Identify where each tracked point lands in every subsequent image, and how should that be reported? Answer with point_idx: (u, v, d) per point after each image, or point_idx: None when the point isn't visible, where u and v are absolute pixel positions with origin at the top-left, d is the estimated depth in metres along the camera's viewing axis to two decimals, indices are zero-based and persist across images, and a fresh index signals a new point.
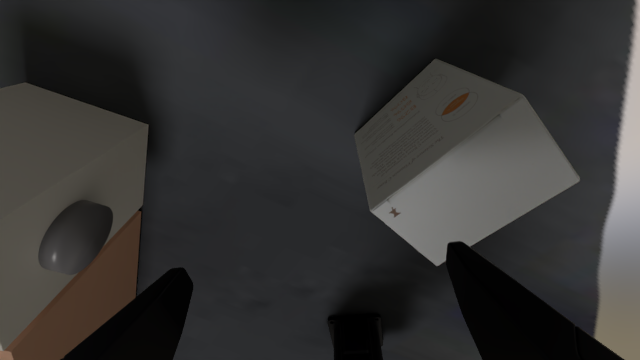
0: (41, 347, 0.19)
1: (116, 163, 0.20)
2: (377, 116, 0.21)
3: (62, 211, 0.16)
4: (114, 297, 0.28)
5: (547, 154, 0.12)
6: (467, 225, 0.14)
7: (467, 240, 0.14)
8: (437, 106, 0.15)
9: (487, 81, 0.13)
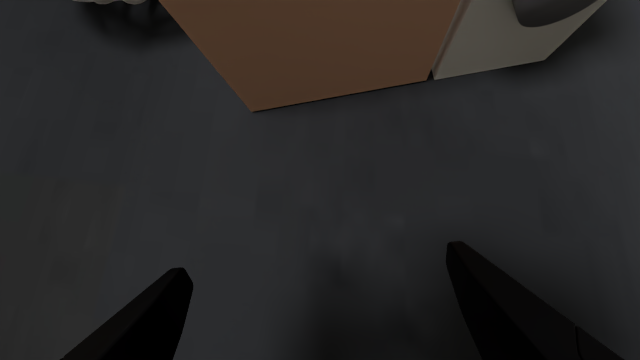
0: None
1: (558, 27, 0.19)
2: None
3: None
4: (324, 70, 0.20)
5: None
6: None
7: None
8: None
9: None
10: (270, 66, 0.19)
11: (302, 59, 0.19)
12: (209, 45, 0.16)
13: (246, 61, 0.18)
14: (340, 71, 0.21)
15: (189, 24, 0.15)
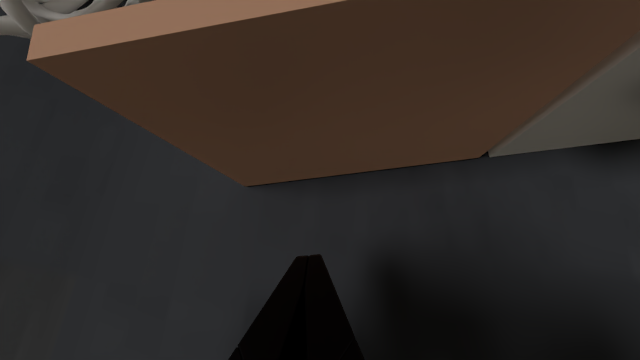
0: (553, 18, 0.07)
1: None
2: None
3: None
4: (344, 152, 0.14)
5: None
6: None
7: None
8: None
9: None
10: (269, 150, 0.13)
11: (315, 144, 0.13)
12: (175, 133, 0.11)
13: (233, 147, 0.12)
14: (367, 153, 0.15)
15: (136, 113, 0.09)
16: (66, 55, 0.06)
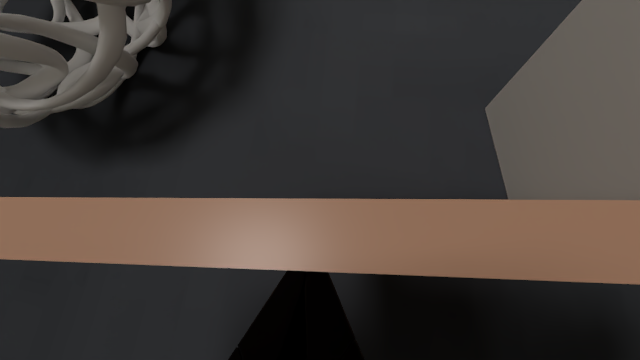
0: None
1: None
2: None
3: None
4: None
5: None
6: None
7: None
8: None
9: None
10: None
11: None
12: None
13: None
14: None
15: None
16: None
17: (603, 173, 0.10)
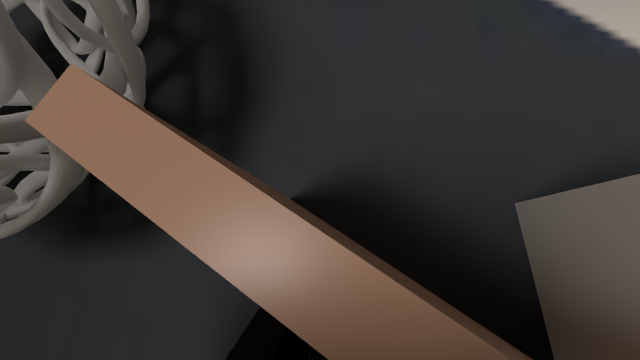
0: None
1: None
2: None
3: None
4: None
5: None
6: None
7: None
8: None
9: None
10: None
11: None
12: None
13: None
14: None
15: None
16: (72, 156, 0.04)
17: None
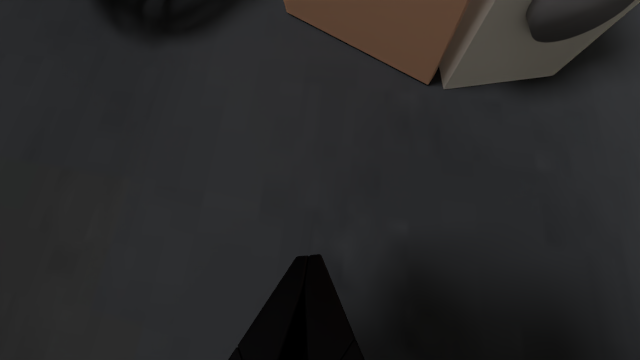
0: None
1: (569, 44, 0.19)
2: None
3: None
4: (346, 7, 0.22)
5: None
6: None
7: None
8: None
9: None
10: None
11: None
12: None
13: None
14: (359, 18, 0.22)
15: None
16: None
17: None
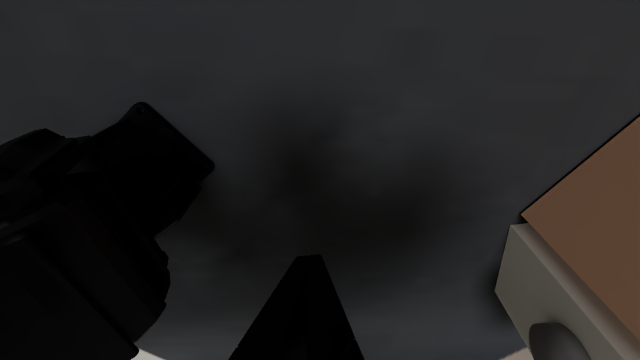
0: None
1: (521, 320, 0.24)
2: None
3: None
4: None
5: None
6: None
7: None
8: None
9: None
10: None
11: None
12: None
13: None
14: None
15: None
16: None
17: None
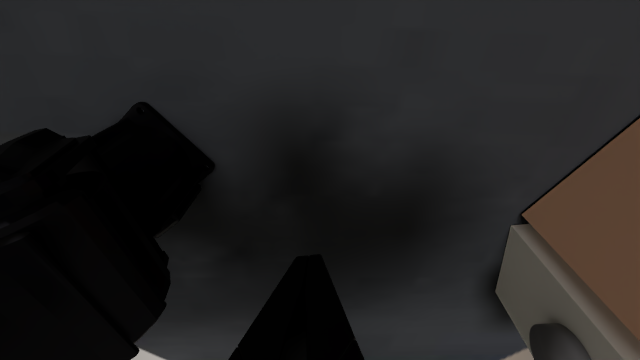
0: None
1: (521, 320, 0.24)
2: None
3: None
4: None
5: None
6: None
7: None
8: None
9: None
10: None
11: None
12: None
13: None
14: None
15: None
16: None
17: None
